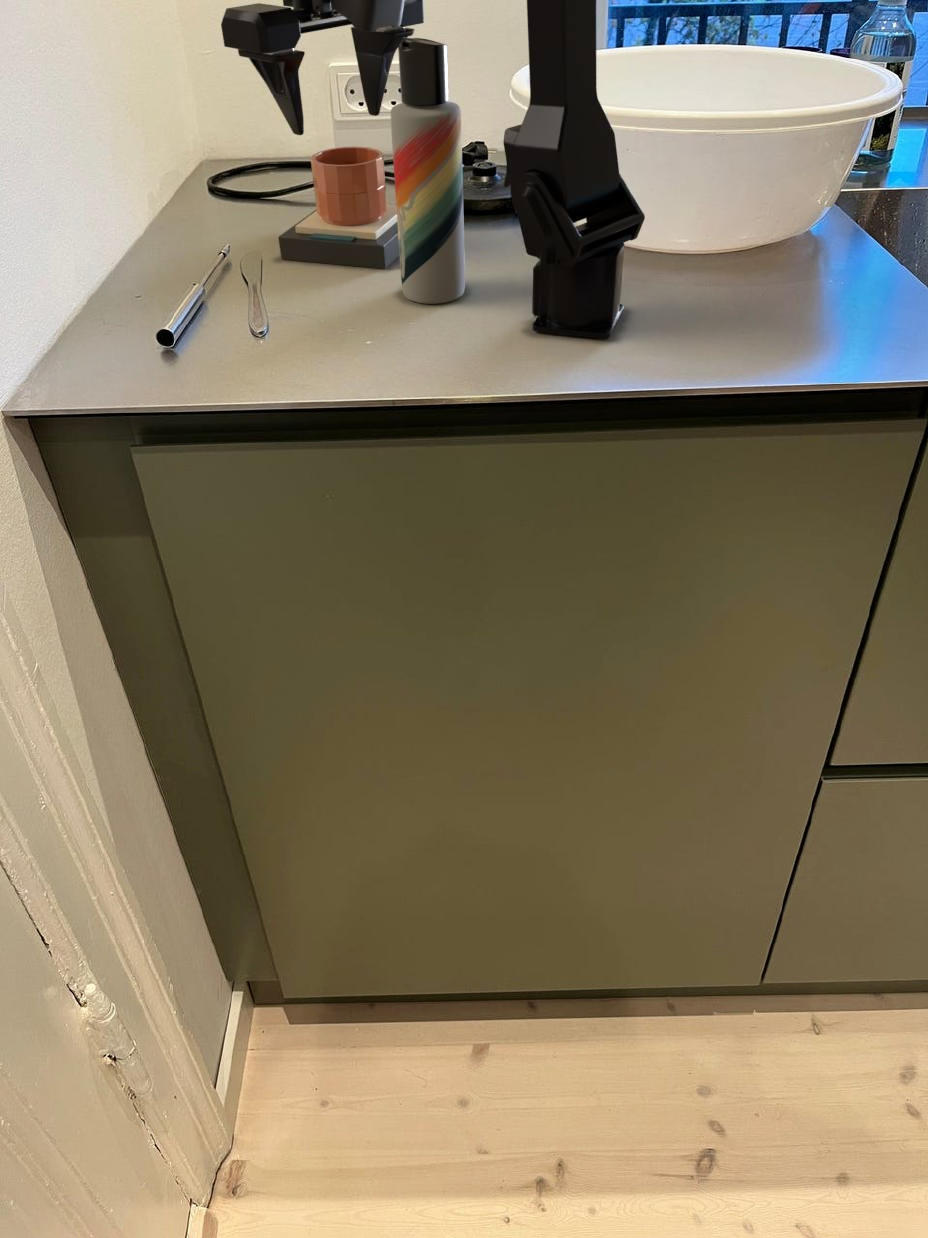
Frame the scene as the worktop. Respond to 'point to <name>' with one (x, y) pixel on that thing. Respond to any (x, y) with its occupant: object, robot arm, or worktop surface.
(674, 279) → the worktop surface
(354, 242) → the scale
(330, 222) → the plant pot
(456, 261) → the lotion bottle
